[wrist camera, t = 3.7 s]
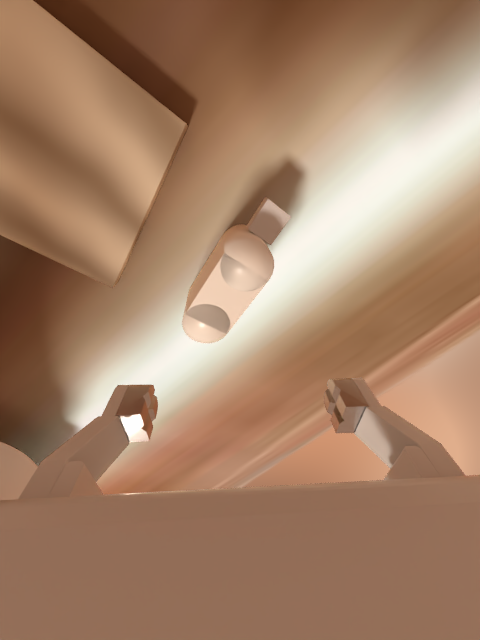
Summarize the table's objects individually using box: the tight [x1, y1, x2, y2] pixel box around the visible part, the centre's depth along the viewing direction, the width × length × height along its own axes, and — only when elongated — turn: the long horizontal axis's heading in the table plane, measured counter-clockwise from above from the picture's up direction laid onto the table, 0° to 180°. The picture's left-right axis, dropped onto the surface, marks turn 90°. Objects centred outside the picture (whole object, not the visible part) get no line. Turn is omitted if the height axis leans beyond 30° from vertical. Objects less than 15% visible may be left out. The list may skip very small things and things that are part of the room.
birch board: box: [0, 0, 188, 288], centre depth 17 cm, size 14×12×2 cm
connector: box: [182, 197, 291, 343], centre depth 21 cm, size 12×4×5 cm, turn 146°
